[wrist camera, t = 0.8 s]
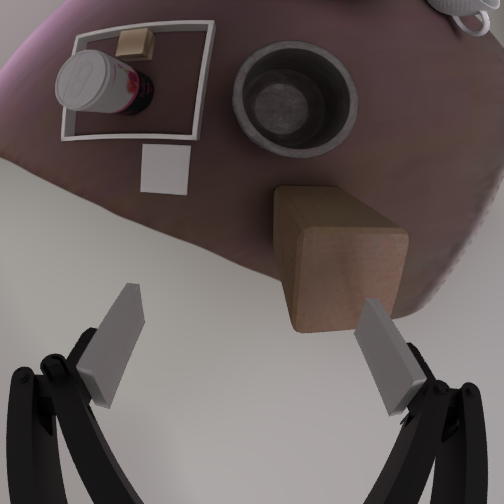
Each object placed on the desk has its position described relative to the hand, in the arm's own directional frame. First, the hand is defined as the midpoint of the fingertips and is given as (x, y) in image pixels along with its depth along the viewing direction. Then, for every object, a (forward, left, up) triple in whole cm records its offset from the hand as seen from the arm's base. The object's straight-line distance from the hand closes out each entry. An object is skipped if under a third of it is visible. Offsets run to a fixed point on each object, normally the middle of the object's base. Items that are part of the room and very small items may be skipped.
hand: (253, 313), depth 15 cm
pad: (-4, -12, -26) cm, 29 cm away
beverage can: (-15, -18, -26) cm, 35 cm away
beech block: (-22, -18, -26) cm, 39 cm away
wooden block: (+1, +9, -26) cm, 28 cm away
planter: (-14, +3, -26) cm, 30 cm away
